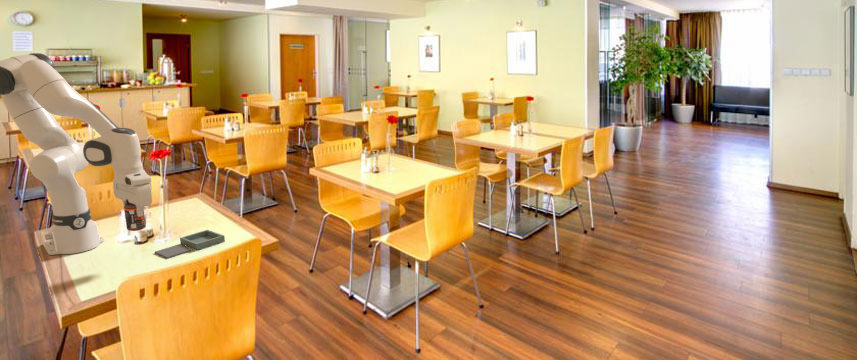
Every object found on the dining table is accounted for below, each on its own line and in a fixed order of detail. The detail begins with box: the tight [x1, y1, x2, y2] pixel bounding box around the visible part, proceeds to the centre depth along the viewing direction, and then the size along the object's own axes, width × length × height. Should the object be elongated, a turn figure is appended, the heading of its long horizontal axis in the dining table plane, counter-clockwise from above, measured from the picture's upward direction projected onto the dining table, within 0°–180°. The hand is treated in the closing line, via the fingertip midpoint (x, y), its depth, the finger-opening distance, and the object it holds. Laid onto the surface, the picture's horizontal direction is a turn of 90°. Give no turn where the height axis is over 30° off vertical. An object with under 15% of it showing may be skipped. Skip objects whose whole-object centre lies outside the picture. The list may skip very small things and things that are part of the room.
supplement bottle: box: [123, 199, 147, 232], centre depth 184 cm, size 6×6×11 cm
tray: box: [179, 229, 226, 251], centre depth 206 cm, size 12×12×2 cm
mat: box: [154, 244, 192, 260], centre depth 196 cm, size 9×9×1 cm
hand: (134, 214), depth 184 cm, fingers closed on supplement bottle, 6 cm apart
